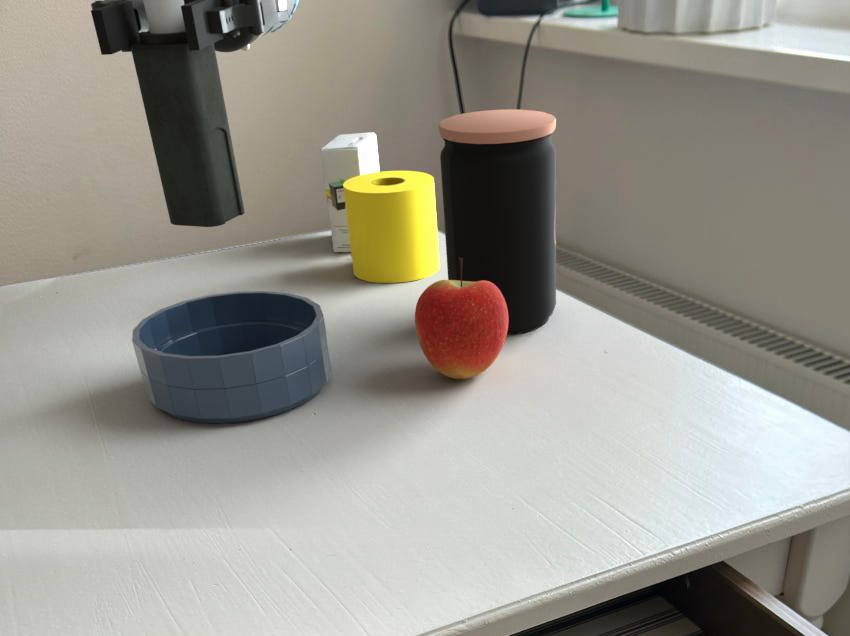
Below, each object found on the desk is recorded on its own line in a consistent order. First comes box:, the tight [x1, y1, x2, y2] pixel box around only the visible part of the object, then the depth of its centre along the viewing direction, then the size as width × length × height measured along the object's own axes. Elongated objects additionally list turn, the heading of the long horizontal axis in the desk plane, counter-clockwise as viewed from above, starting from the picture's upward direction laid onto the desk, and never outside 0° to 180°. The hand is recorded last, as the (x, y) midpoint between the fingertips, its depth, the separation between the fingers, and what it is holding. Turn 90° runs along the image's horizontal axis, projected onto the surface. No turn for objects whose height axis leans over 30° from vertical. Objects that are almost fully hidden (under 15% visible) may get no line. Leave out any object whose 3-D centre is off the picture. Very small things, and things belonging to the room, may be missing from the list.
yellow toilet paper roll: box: [343, 170, 441, 284], centre depth 110 cm, size 10×10×9 cm
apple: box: [414, 257, 508, 380], centre depth 85 cm, size 8×8×10 cm
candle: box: [131, 0, 245, 228], centre depth 74 cm, size 5×5×25 cm
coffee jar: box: [437, 108, 557, 335], centre depth 94 cm, size 11×11×18 cm
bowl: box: [131, 290, 333, 424], centre depth 86 cm, size 16×16×6 cm
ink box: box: [320, 131, 381, 253], centre depth 119 cm, size 8×5×12 cm, turn 171°
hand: (145, 30), depth 69 cm, fingers closed on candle, 6 cm apart
